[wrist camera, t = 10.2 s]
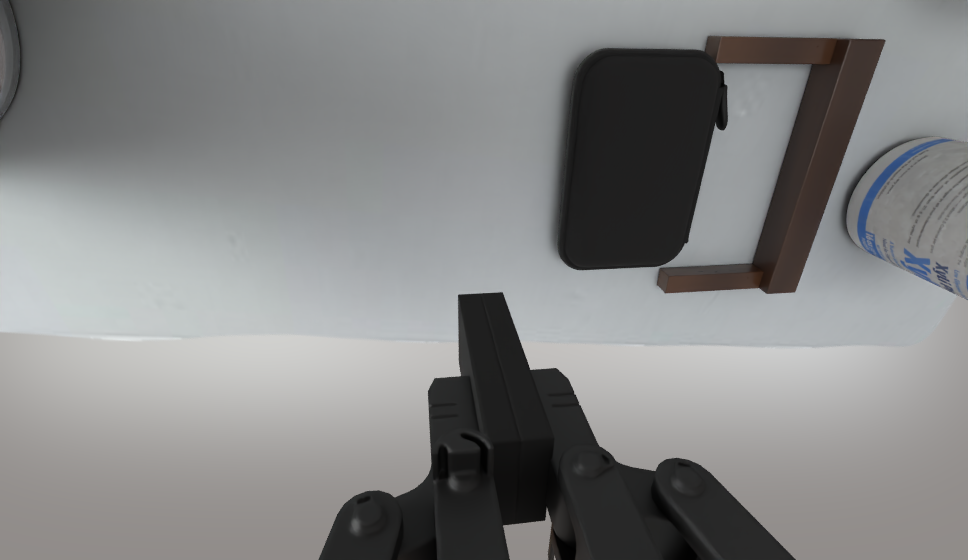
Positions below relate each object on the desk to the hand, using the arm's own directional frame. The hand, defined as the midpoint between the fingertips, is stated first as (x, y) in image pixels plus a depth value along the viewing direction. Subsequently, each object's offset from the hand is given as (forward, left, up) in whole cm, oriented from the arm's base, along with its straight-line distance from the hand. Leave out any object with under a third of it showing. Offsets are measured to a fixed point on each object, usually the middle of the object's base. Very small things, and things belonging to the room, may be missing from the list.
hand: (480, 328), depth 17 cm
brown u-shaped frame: (+22, 0, -18) cm, 29 cm away
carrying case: (+13, +1, -19) cm, 23 cm away
